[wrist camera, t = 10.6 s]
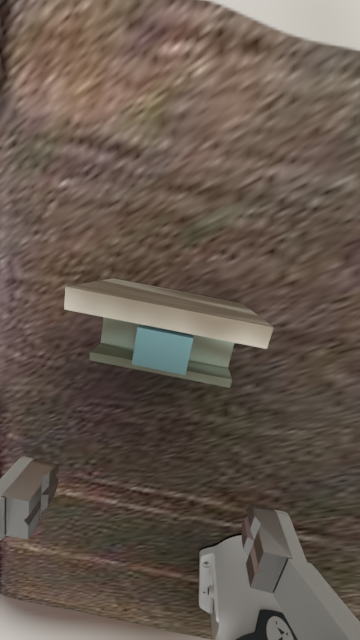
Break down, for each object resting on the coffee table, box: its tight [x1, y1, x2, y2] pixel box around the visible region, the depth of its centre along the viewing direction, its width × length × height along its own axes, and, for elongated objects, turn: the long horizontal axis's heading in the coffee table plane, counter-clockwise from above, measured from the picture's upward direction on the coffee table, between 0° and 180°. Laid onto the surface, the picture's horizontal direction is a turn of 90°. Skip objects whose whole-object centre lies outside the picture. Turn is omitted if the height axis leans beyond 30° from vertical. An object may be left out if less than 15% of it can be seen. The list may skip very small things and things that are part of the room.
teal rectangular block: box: [132, 324, 193, 375], centre depth 23 cm, size 4×5×7 cm
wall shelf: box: [64, 278, 273, 388], centre depth 26 cm, size 8×18×12 cm, turn 79°
